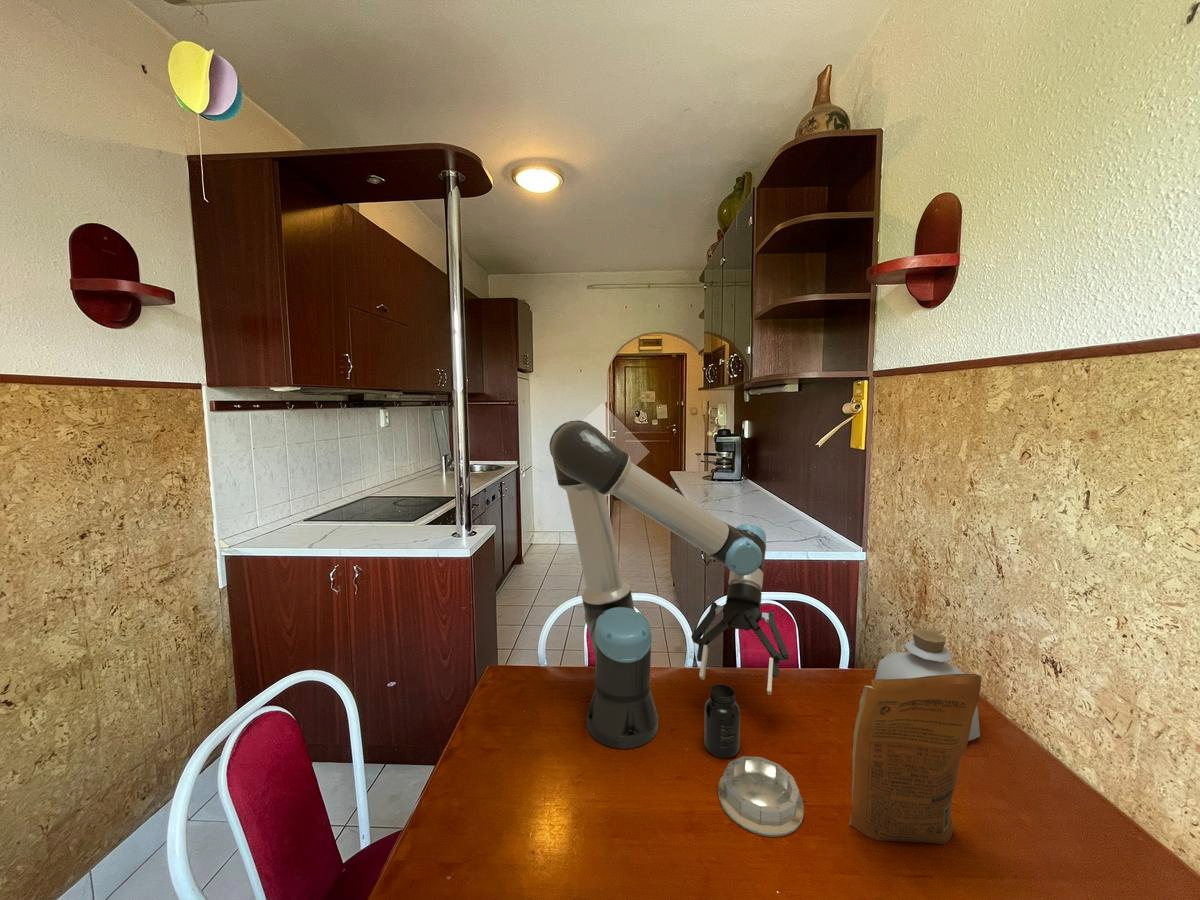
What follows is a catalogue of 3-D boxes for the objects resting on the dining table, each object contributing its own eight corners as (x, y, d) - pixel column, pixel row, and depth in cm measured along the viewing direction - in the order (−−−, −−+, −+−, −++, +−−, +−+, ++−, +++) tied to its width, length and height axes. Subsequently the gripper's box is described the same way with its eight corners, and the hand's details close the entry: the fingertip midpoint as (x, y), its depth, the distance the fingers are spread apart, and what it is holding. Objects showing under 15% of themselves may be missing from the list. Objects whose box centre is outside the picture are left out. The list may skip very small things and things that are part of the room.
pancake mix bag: (981, 856, 75) (999, 684, 71) (853, 849, 76) (864, 679, 72) (952, 818, 81) (967, 659, 78) (835, 812, 82) (844, 655, 79)
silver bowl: (706, 810, 83) (707, 791, 82) (732, 759, 94) (733, 742, 94) (793, 852, 75) (794, 832, 75) (810, 791, 87) (811, 773, 86)
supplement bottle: (741, 741, 99) (743, 685, 98) (736, 764, 93) (738, 705, 92) (707, 731, 102) (709, 677, 101) (700, 752, 96) (701, 695, 95)
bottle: (964, 766, 93) (972, 672, 91) (856, 713, 108) (862, 632, 106) (993, 722, 105) (1001, 639, 103) (893, 680, 121) (898, 607, 118)
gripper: (802, 603, 111) (798, 703, 99) (693, 587, 121) (678, 676, 109) (803, 590, 106) (800, 694, 94) (689, 573, 115) (672, 667, 103)
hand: (734, 685), depth 101 cm, fingers open, 13 cm apart
